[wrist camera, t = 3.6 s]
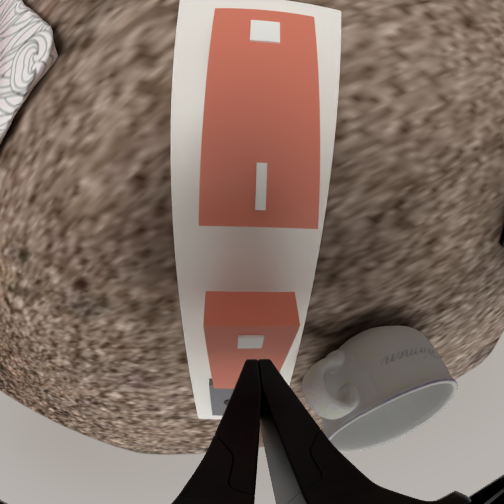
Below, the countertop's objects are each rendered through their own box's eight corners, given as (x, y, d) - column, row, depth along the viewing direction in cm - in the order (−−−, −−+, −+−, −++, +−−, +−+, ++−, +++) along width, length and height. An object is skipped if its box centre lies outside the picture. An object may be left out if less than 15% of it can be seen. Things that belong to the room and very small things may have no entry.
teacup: (429, 340, 23) (466, 398, 15) (345, 399, 26) (365, 461, 19) (367, 257, 18) (429, 339, 10) (253, 349, 21) (262, 441, 14)
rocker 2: (294, 291, 11) (300, 328, 10) (270, 365, 17) (272, 389, 16) (205, 290, 11) (203, 328, 10) (214, 365, 17) (213, 390, 15)
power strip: (321, -45, 8) (343, -76, 5) (276, 391, 24) (281, 427, 20) (200, -55, 8) (193, -90, 4) (200, 391, 23) (197, 428, 19)
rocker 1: (304, 37, 9) (314, 15, 7) (304, 225, 10) (318, 229, 8) (216, 30, 8) (214, 6, 7) (203, 222, 10) (198, 226, 8)
